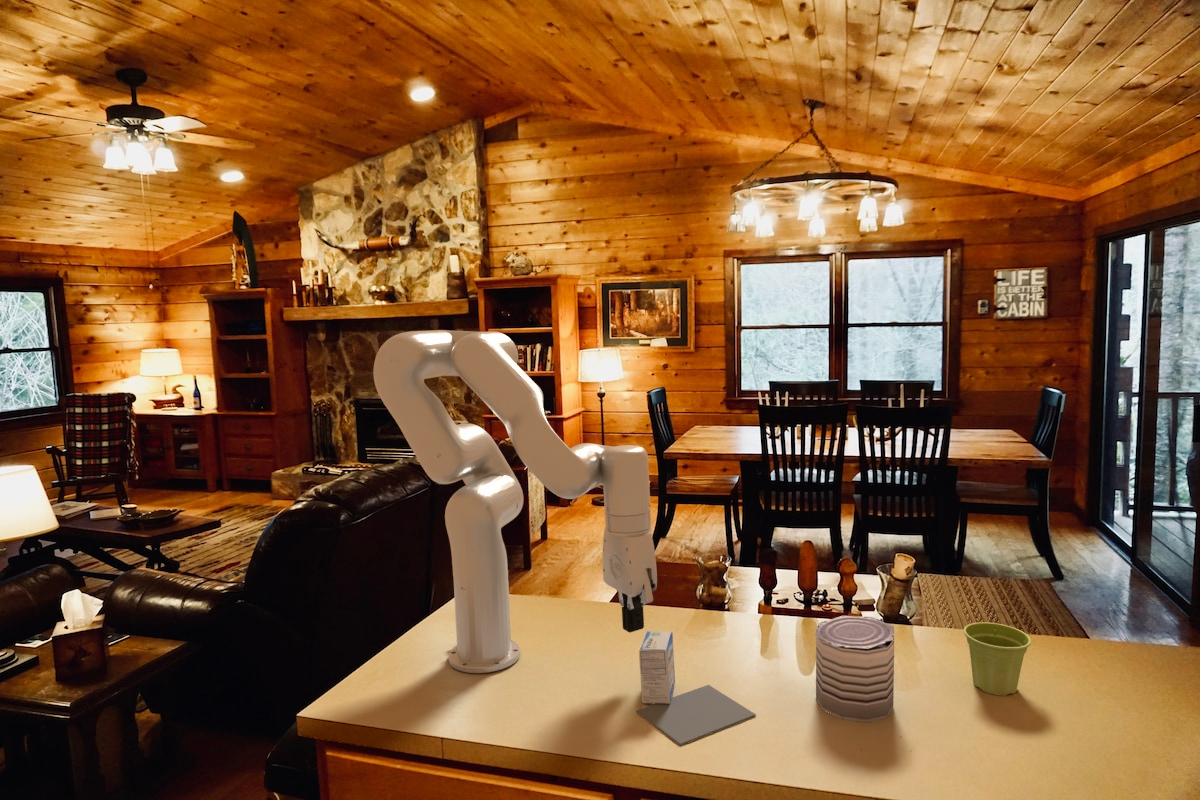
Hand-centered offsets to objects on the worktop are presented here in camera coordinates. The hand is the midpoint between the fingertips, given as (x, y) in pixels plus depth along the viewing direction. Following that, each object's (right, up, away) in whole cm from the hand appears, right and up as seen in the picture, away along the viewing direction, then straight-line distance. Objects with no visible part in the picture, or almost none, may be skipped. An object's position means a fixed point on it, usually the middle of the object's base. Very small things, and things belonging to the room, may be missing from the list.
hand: (633, 628), depth 126 cm
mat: (+9, -9, -12) cm, 18 cm away
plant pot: (+57, -7, -7) cm, 58 cm away
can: (+33, -9, -10) cm, 36 cm away
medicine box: (+4, -9, -6) cm, 11 cm away
